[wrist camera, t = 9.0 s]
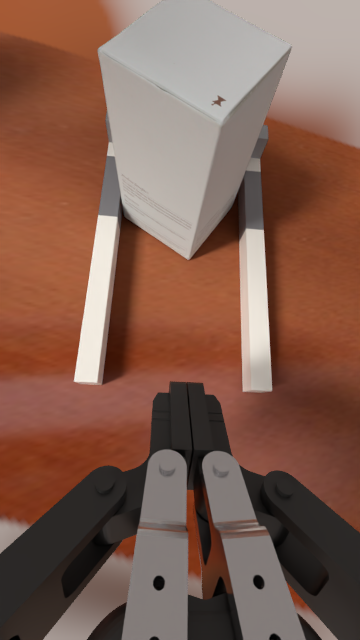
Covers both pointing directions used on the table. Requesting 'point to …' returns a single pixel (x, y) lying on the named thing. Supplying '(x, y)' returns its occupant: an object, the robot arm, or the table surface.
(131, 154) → the supplement box
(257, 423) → the table surface
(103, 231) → the guide channel
